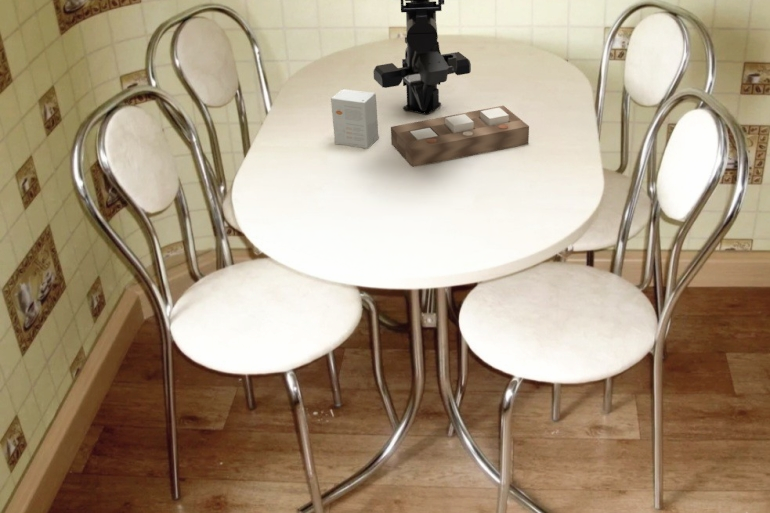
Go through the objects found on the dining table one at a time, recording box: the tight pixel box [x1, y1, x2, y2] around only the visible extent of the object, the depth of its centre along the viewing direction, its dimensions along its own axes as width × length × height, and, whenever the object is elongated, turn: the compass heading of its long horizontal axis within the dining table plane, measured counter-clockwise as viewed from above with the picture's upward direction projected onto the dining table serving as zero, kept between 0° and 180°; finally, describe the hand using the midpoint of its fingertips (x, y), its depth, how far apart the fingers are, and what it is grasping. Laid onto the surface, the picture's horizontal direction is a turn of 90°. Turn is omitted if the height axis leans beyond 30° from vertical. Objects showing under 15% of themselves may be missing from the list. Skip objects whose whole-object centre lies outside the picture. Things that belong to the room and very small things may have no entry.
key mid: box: [445, 114, 474, 133], centre depth 198 cm, size 4×4×3 cm
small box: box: [330, 88, 380, 149], centre depth 201 cm, size 8×6×10 cm
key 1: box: [410, 128, 438, 140], centre depth 197 cm, size 4×4×3 cm
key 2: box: [480, 108, 509, 126], centre depth 201 cm, size 4×4×3 cm
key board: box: [390, 105, 530, 168], centre depth 199 cm, size 26×12×4 cm, turn 110°
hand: (423, 109), depth 193 cm, fingers closed
